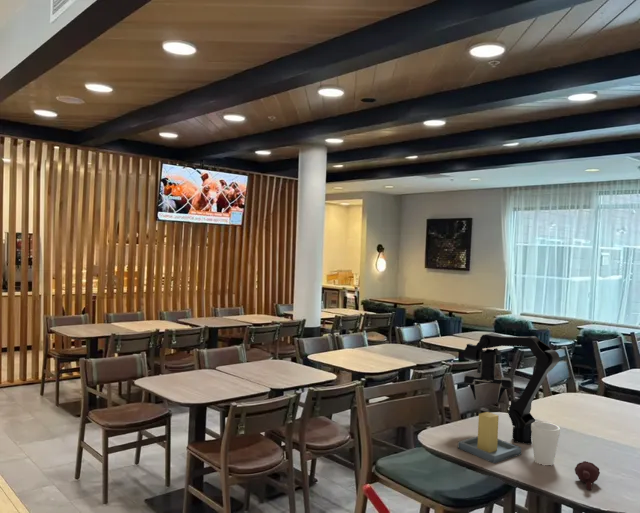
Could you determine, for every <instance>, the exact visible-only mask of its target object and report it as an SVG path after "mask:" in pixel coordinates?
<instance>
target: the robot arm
mask: <svg viewBox="0 0 640 513" xmlns="http://www.w3.org/2000/svg"><path fill="white" fill-rule="evenodd" d="M498 347H521V348H522V347H524V348H525V347H526V348H529V350H530V352H531V353H532V355H533V356H534V357H535V358H536V361H535V369H534V371H533V373H532V375H531V376H530V378H529V380H528V383H527V384H526V386H525V388H524V390H523V391H522V394H521V395H520V397H518V398H515V399H513V400H511V403H510V405H509V406H508V407H507V409H508V411H507V415H508V417H509V419H510V421H511V424H512V439H513V442H514V443H521V444H527V445H528V444H529V445H533V440H532V431H531V424H532V423H533V422H536V419H535V417H533V415H532V414H531V410H532V403H533V400H534V399H535V398H536V395H537V393H538V391H539V390H540V389H541V386H542V384H543V382H544V381H545V379H546V377H547V375H548V373H550V372H551V371H552V370H553V369H554V368H555V367H556V366H557V365H558V363H559V362H560V360H561V357H560V354H559V353H558V351H556V350H554V349H552V348H551V347H550V346H549V345H548V344H546V343H544V342H543V341H541V340H540V338H538V337H537V336H535V335H534V336H533V335H531V336H507V335H506V336H505V335H501V334H499V333H498V334H497V333H492V332H491V333H486V334H482V335H481V336H480V338H479V341H478V342H477V343H476V344H473V343H467V344H466V347H465V348H464V350H463V352H462V354H463V355H462V356H463V358H464V359H465V360H468V361H472V362H473V361H474V362H477V363H479V362H480V365H477V366H476V367H477V369H476V370H477V371H476V373H477V374H478V375H479V374H480V376H475V374H473V373H465V374H464V379H463V383H465V384H466V385H467V386H469V388H470V389H471V392H472V395H473V399H474V400H477V398H476V396H477V395H476V394H477V393H476V382H478V383H487V384H498V385H499V389H498V396H497V403H500V400H501V398H502V396H503V394H504V392H505V390H508V389H509V388H510V389H511V388H512V382H513V381H512V379H511V378H510V377H503V376H502V377H500V379H499V378H495V377H496V358H497V356H499V355H501V354H502V352H501V351H500V350H499V349H498ZM491 348H493V349H491Z"/></svg>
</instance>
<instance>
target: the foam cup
mask: <svg viewBox="0 0 640 513" xmlns="http://www.w3.org/2000/svg"><path fill="white" fill-rule="evenodd" d="M531 431H532V436H531V441H532V450H533V458H534V460H535V461H534V462H535V463H536V462H537V463H536V464H538V463H539V464H538V465H540V464H542V465H541V466H545V465H551V466H554V463H555V458H556V454H557V449H558V443H559V438H560V435H561V428H560V426H558V425H557V424H554V423H551V422H547V421H535V422H533V423H532V424H531Z"/></svg>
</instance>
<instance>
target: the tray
mask: <svg viewBox="0 0 640 513" xmlns="http://www.w3.org/2000/svg"><path fill="white" fill-rule="evenodd" d="M477 445H478V435H477V436H474V437H470V438H467V439H463V440H460V441H458V445H457V446H458V447H457V448H458V450H461V451H463V450H464V452H466V453H468V452H469V454H471V455H472V456H473V455H474V456H475V455H476V456H475V457H478V458H479V459H482V460H485V461H488V462H490V463H493V464H496V463H499V462H501V461H502V460H503V461H505V460H507V459H512V458H513V457H517V456H519V454H520V455H522V447H521V446H519V445H516V444H514V443H511V442H509V441H505V440H502V439H500V438H498V441H497V451H494V452H490V453H489V452H486V451H484V450H481V449H479V448H477ZM516 455H517V456H516ZM503 461H502V462H503Z"/></svg>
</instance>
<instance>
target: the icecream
mask: <svg viewBox="0 0 640 513" xmlns="http://www.w3.org/2000/svg"><path fill="white" fill-rule="evenodd" d="M574 473H575V474H576V476H577V477H578V480H579V481H581V482H583V483H585V487H586V489H587V490H588V491H591V490H592V488H593V483H595V482H596V481H597V480H598V478H599V476H600V474H601V472H600V468H599V467H598V466H596V465H595V464H594V463H593V462H589V461H586V460H585V461H581V462H579V463H577V464H576V466H575V467H574Z"/></svg>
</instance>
